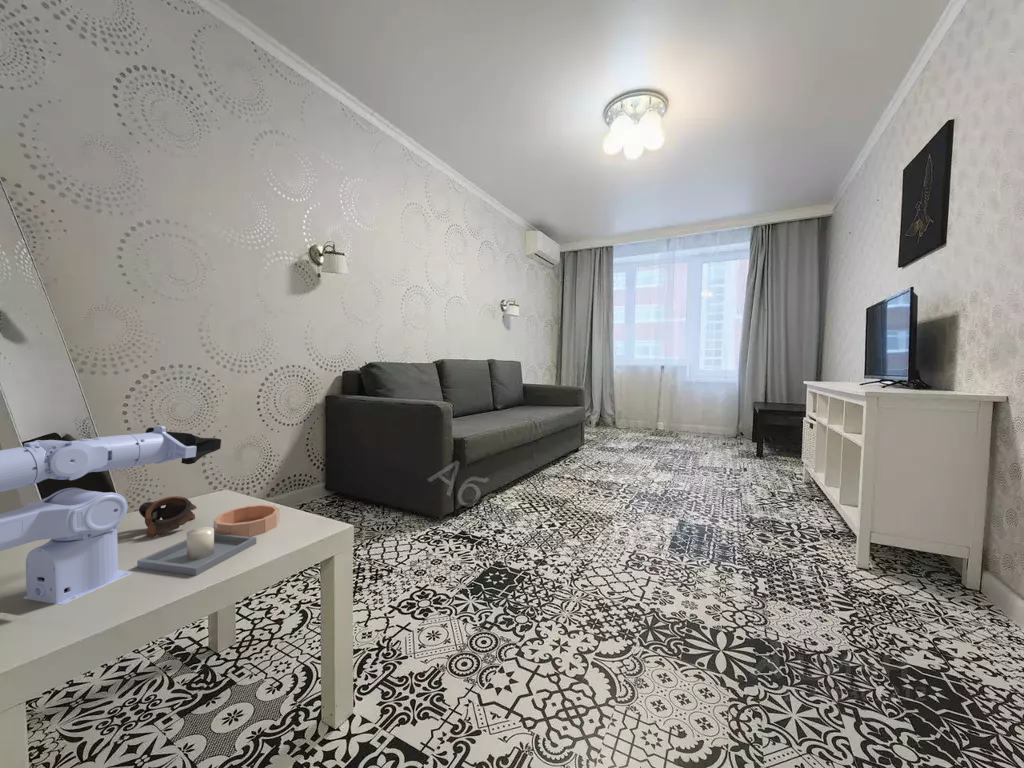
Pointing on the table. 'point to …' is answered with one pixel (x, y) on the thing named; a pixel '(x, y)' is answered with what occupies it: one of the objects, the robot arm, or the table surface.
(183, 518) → the broken clay pot
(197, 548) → the cream rounded cylinder
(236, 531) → the terracotta bowl
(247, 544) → the parts tray
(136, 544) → the table surface
